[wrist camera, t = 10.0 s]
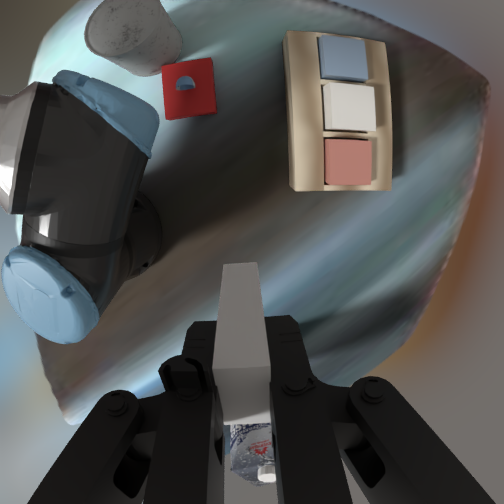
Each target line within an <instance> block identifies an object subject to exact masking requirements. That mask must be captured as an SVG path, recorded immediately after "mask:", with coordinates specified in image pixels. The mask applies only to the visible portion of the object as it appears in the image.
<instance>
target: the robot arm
mask: <svg viewBox="0 0 504 504" xmlns="http://www.w3.org/2000/svg"><path fill="white" fill-rule="evenodd" d="M52 82H53V84H48V83H42V82H36V81H34V82H33V83H31V84H30V85H29V86H27V87H26V88H25V89H23V90H22V91H20V92H19V93H17V94H15V95H13V96H8V95H7V96H6V95H0V205H1V206H2V208H3V209H4V210H5V212H6V213H7V214H23V222H22V235H21V243H20V245H19V246H17V247H14V248H12V249H11V250H10V252H9V254H8V256H7V257H6V258H5V259H4V262H3V265H2V271H1V272H2V273H1V274H2V283H3V287H4V290H5V293H6V296H7V298H8V300H9V302H10V304H11V305H12V307H13V309H14V310H15V311H16V313H17V314H18V315H19V316H20V318H21V319H22V320H23V321H24V322H25V323H26V324H27V325H28V326H29V327H30V328H31V329H32V330H33V331H35V332H36V333H38V334H39V335H41V336H42V337H44V338H46V339H48V340H51V341H53V342H56V343H61V344H70V343H77V342H79V341H81V340H82V339H84V338H85V337H86V336H87V334H88V333H89V332H90V331H91V330H92V329H93V328H94V327H95V326H96V325H97V323H98V321H99V318H100V317H101V315H102V314H103V312H104V311H105V309H106V308H107V306H108V305H109V303H110V302H111V300H112V299H113V297H114V296H115V294H116V293H117V292H118V290H119V289H120V287H121V286H122V284H123V283H124V282H125V281H127V280H129V279H132V278H134V277H137V276H139V275H140V274H142V273H143V272H144V271H146V270H147V269H148V268H149V267H150V265H151V264H152V262H153V261H154V259H155V258H156V256H157V254H158V252H159V249H160V246H161V241H162V229H161V223H160V220H159V217H158V214H157V212H156V210H155V208H154V207H153V205H152V204H151V202H150V201H149V200H148V199H147V198H146V197H145V196H144V195H143V194H141V193H140V192H139V191H138V189H139V186H140V183H141V180H142V177H143V174H144V171H145V168H146V165H147V162H148V159H151V156H152V153H151V149H152V146H153V143H154V140H155V136H156V134H157V131H158V128H159V115H158V113H157V111H156V110H155V109H154V108H153V107H152V106H151V105H150V104H148V103H147V102H145V101H144V100H142V99H140V98H138V97H136V96H134V95H132V94H130V93H128V92H126V91H124V90H122V89H120V88H118V87H115V86H113V85H111V84H108V83H106V82H103V81H101V80H98V79H95V78H90V77H88V76H85V75H82V74H80V73H77V72H74V71H69V70H61V71H60V72H58V73H57V75H56V76H55V77H53V79H52ZM158 372H159V375H160V377H161V380H162V383H163V385H164V388H165V392H163V393H161V394H159V395H155V396H151V397H146V398H141V399H137V398H136V396H135V395H134V394H133V393H131V392H129V391H126V390H115V391H111V392H109V393H107V394H105V395H104V396H103V397H102V398H101V399H99V401H98V402H97V403H96V405H95V406H94V407H93V409H92V410H91V412H90V413H89V414H88V416H87V417H86V418H85V420H84V421H83V423H82V424H81V426H80V427H79V428H78V430H77V431H76V432H75V434H74V435H73V437H72V438H71V440H70V441H69V442H68V444H67V445H66V447H65V448H64V450H63V451H62V452H61V454H60V455H59V457H58V458H57V460H56V461H55V463H54V464H53V466H52V467H51V468H50V470H49V472H48V473H47V474H46V476H45V477H44V479H43V480H42V482H41V483H40V485H39V486H38V488H37V489H36V491H35V492H34V494H33V495H32V497H31V499H30V500H29V502H28V503H27V504H142V502H143V504H224V457H225V438H224V433H223V421H224V425H235V424H257V423H271V428H272V448H273V455H274V465H275V475H276V485H277V495H278V504H353V502H352V498H351V495H350V491H349V486H348V483H347V479H346V475H345V471H344V467H343V463H342V460H341V458H342V459H343V461H344V463H345V464H346V466H347V468H348V469H349V471H350V473H351V474H352V476H353V477H354V479H355V481H356V482H357V484H358V485H359V487H360V488H361V490H362V492H363V493H364V495H365V497H366V498H367V500H368V501H369V503H370V504H496V503H495V502H494V501H493V500H492V499H491V498H490V496H489V495H488V494H487V493H486V492H485V490H484V489H483V488H482V487H481V486H480V484H479V483H478V482H477V481H476V480H475V478H474V477H473V476H472V475H471V474H470V473H469V471H468V470H467V469H466V468H465V467H464V466H463V464H462V463H461V462H460V461H459V460H458V459H457V458H456V456H455V455H454V454H453V453H452V452H451V451H450V449H449V448H448V447H447V446H446V445H445V444H444V443H443V441H442V440H441V439H440V438H439V437H438V436H437V435H436V434H435V432H434V431H433V430H432V429H431V428H430V427H429V425H428V424H427V423H426V422H425V421H424V420H423V419H422V418H421V416H420V415H419V414H418V413H417V412H416V411H415V410H414V408H413V407H412V406H411V405H410V404H409V403H408V402H407V401H406V400H405V398H404V397H403V396H402V395H401V394H400V393H399V392H398V391H397V389H396V388H395V387H394V386H393V385H392V384H391V383H390V382H388V381H387V380H385V379H382V378H380V377H373V376H368V377H364V378H360V379H359V380H357V381H356V382H354V383H353V385H352V386H351V387H339V386H332V385H328V384H325V383H323V382H321V381H320V380H318V379H317V377H316V376H314V375H313V373H312V371H311V368H310V364H309V361H308V357H307V354H306V350H305V347H304V343H303V340H302V336H301V334H300V329H299V326H298V323H297V322H296V321H295V320H294V319H293V318H292V317H291V316H290V315H284V316H271V317H264V312H263V304H262V297H261V289H260V282H259V274H258V267H257V262H252V263H236V264H224V266H223V275H222V283H221V292H220V300H219V309H218V318H217V321H195V322H194V323H193V324H192V325H191V326H190V327H189V328H188V330H187V333H186V337H185V341H184V346H183V350H182V354H181V355H177V356H175V357H172V358H170V359H168V360H167V361H165V362H164V363H163V364H162V365H161V367H160V368H159V370H158ZM143 499H144V501H143Z"/></svg>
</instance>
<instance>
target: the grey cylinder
mask: <svg viewBox="0 0 504 504" xmlns="http://www.w3.org/2000/svg"><path fill="white" fill-rule="evenodd" d="M84 37H85V42H86V45H87V47H88V48H89V50H90V51H91V52H93V53H94V54H96V55H98V56H101V57H103V58H105V59H107V60H109V61H111V62H113V63H115V64H117V65H118V66H120V67H122V68H124V69H126V70H127V71H129V72H130V73H132V74H134V75H137V76H143V77H147V76H153V75H156V74H159V73H161V72H162V68H161V66H164V65H169V64H173V63H174V62H175V61H176V59H177V58H178V56H179V55H180V52H181V49H182V37H181V35H180V33H179V31H178V30H177V29H176V27H175V25H174V24H173V22H172V21H171V19H170V17H169V16H168V14H167V12H166V11H165V9H164V8H163V6H162V4H161V2H160V0H104V1H103V2H102V3H101V4H100V5H99V6H98V7H97V8H96V9H95V10H94V11H93V13H92V14H91V16H90V17H89V19H88V22H87V24H86V27H85V32H84Z"/></svg>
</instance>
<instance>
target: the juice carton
mask: <svg viewBox="0 0 504 504" xmlns="http://www.w3.org/2000/svg"><path fill="white" fill-rule="evenodd" d="M231 471H232V472H233V473H235V474H237V475H239V476H240V477H242V478H244V479H245V480H247V481H249V482H250V483H251V484H253V485H255V486H263V485H267V484H270V483H273V482H276V475H275V465H274V455H273V448H272V428H271V423H257V424H235V425H231Z"/></svg>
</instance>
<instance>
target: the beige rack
mask: <svg viewBox="0 0 504 504" xmlns="http://www.w3.org/2000/svg"><path fill="white" fill-rule="evenodd" d="M321 35H328V36H337V37H344V38H351V39H358V40H363V41H364V43H365V51H366V60H367V69H368V80H366V81H363V82H361V83H356V82H348V81H337V80H325V79H320V69H319V58H318V47H317V40H318V39H319V38H320V37H321ZM282 50H283V63H284V78H285V94H286V112H287V132H288V158H289V186H291V187H292V188H293V189H294V190H295V191H328V190H388V191H391V182H392V113H391V95H390V82H389V72H388V63H387V54H386V47H385V43H384V42H379V41H374V40H369V39H363V38H358V37H351V36H345V35H337V34H329V33H319V32H307V31H289V30H287V32H286V34H285V36H284V38H283V41H282ZM330 82H333V83H344V84H354V85H362V86H370V87H374V97H375V116H376V131H352V130H333V129H325V111H324V93H323V86H325V85H326V84H328V83H330ZM323 139H341V140H361V141H372V166H371V185H329V184H327V183H325V182H324V144H323Z"/></svg>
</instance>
